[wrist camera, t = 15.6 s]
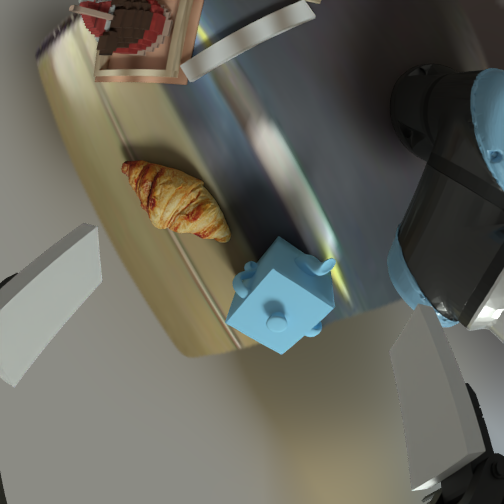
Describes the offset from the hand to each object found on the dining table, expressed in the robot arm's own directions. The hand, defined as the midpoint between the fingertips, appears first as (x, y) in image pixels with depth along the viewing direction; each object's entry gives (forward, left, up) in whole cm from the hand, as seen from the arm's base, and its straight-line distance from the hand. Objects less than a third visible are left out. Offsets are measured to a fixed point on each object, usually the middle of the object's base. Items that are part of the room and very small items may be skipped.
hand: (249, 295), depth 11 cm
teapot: (-5, +18, -35) cm, 40 cm away
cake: (+25, -16, -34) cm, 45 cm away
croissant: (+15, +11, -35) cm, 40 cm away
